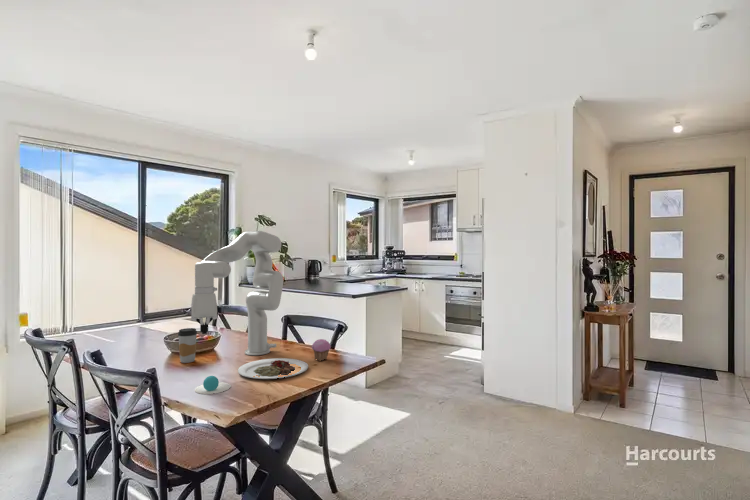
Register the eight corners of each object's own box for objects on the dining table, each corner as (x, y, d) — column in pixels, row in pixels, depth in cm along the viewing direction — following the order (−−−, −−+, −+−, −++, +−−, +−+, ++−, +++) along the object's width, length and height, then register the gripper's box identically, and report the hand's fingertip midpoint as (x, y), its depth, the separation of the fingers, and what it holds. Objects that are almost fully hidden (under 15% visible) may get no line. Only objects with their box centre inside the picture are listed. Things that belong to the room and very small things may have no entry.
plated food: (236, 385, 166) (236, 376, 166) (239, 364, 195) (239, 357, 195) (312, 379, 174) (312, 371, 174) (304, 360, 203) (304, 353, 203)
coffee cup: (200, 359, 203) (200, 328, 203) (191, 363, 194) (191, 331, 194) (184, 358, 204) (184, 327, 203) (174, 363, 195) (174, 331, 195)
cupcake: (322, 356, 208) (323, 336, 208) (334, 360, 202) (334, 339, 202) (308, 360, 202) (308, 339, 202) (319, 363, 196) (319, 342, 196)
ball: (219, 379, 157) (219, 392, 158) (218, 372, 162) (217, 385, 163) (203, 380, 154) (203, 394, 155) (202, 374, 159) (202, 387, 160)
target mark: (227, 380, 170) (227, 380, 170) (234, 390, 159) (234, 389, 159) (192, 386, 164) (192, 385, 164) (197, 396, 152) (197, 395, 152)
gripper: (221, 289, 187) (220, 330, 187) (184, 290, 179) (184, 333, 180) (224, 290, 181) (224, 333, 181) (186, 292, 173) (186, 337, 173)
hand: (204, 333), depth 180 cm, fingers closed
